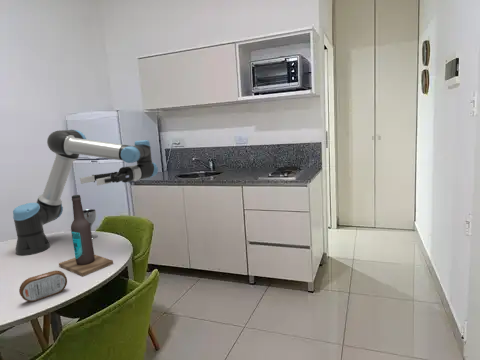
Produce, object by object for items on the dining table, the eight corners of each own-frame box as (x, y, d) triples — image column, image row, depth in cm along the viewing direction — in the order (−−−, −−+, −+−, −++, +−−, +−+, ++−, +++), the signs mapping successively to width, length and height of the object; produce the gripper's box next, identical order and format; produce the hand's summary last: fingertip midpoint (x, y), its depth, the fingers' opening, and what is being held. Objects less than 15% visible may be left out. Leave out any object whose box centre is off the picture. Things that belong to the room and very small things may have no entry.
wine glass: (101, 234, 193) (98, 208, 190) (94, 239, 185) (90, 212, 182) (88, 235, 194) (84, 209, 191) (80, 239, 186) (76, 213, 183)
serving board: (59, 266, 150) (58, 263, 150) (89, 255, 161) (88, 252, 161) (82, 276, 138) (82, 272, 138) (113, 263, 149) (112, 260, 149)
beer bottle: (73, 263, 149) (62, 196, 144) (90, 257, 155) (80, 192, 150) (81, 266, 144) (70, 198, 139) (98, 260, 150) (88, 194, 145)
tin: (67, 287, 129) (63, 266, 128) (69, 290, 127) (66, 269, 125) (21, 303, 120) (17, 280, 118) (22, 306, 117) (18, 283, 116)
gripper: (146, 182, 161) (105, 191, 144) (115, 180, 176) (75, 188, 159) (144, 166, 159) (103, 174, 143) (113, 165, 174) (73, 172, 158)
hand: (88, 181), depth 151 cm, fingers open, 13 cm apart
